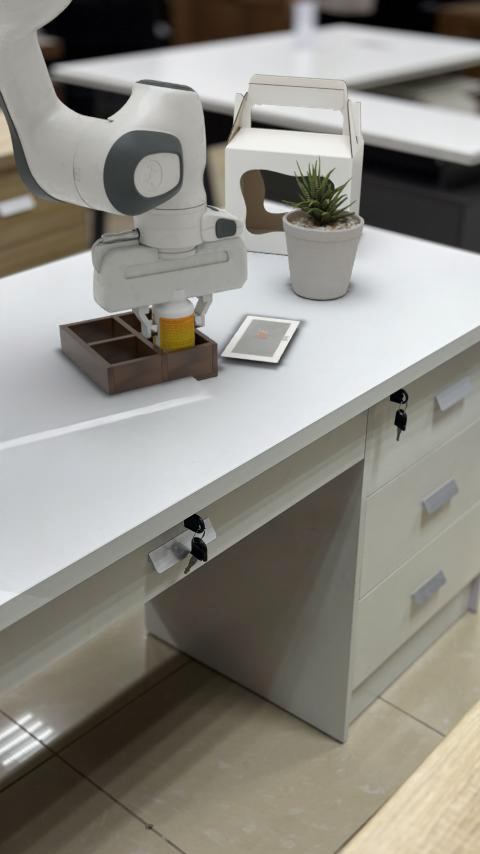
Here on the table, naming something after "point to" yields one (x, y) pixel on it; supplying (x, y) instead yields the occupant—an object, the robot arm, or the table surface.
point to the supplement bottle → (174, 323)
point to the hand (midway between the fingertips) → (173, 331)
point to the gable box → (288, 153)
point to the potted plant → (321, 239)
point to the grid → (133, 354)
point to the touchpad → (261, 339)
